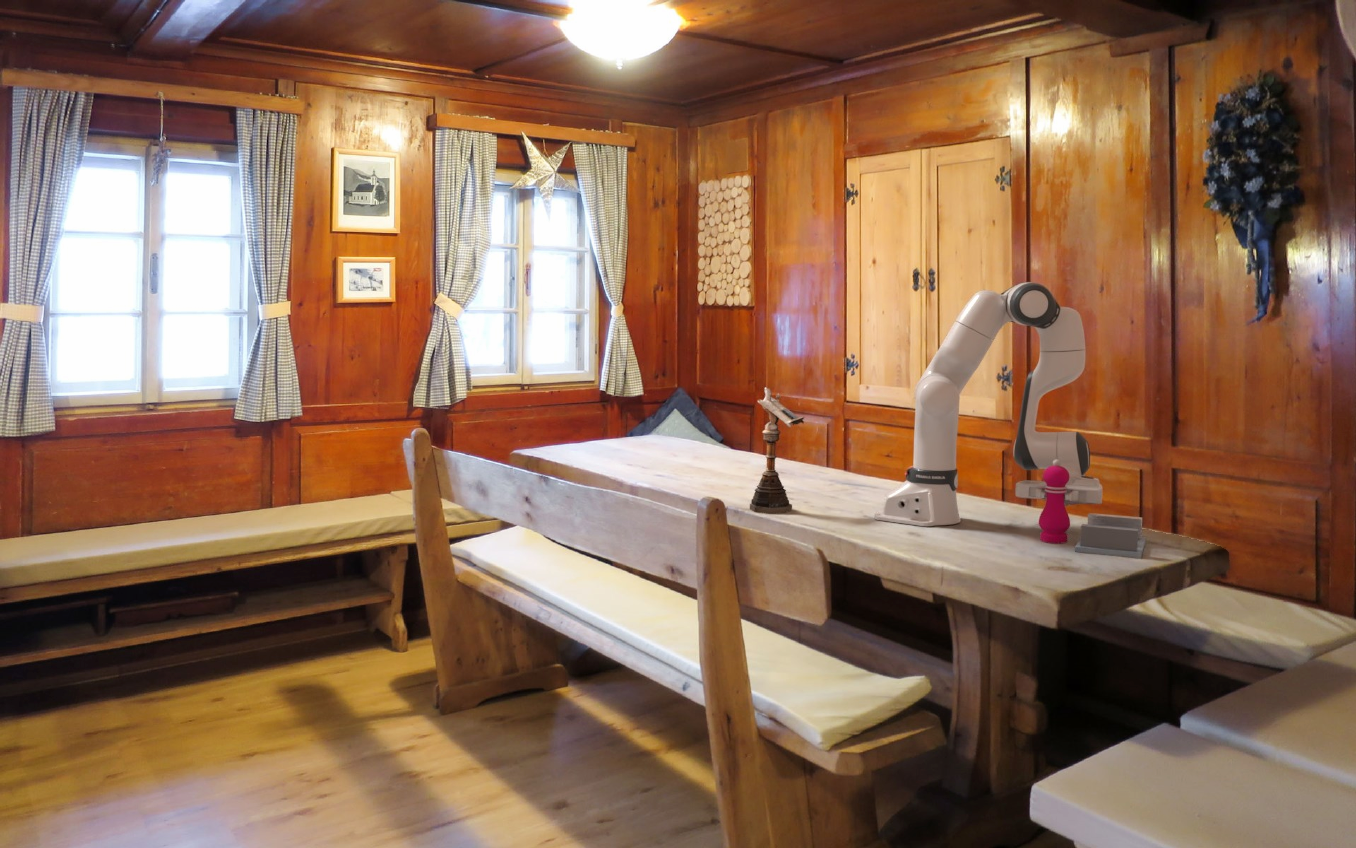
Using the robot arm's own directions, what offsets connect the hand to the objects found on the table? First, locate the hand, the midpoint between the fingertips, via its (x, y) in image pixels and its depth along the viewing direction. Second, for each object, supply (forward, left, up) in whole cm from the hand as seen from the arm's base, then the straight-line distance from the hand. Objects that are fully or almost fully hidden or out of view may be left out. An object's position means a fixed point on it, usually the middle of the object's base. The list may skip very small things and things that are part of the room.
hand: (1054, 496), depth 246 cm
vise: (+13, +1, -11) cm, 17 cm away
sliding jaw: (+13, +8, -10) cm, 18 cm away
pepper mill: (0, +1, -11) cm, 11 cm away
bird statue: (-74, +7, -11) cm, 75 cm away
